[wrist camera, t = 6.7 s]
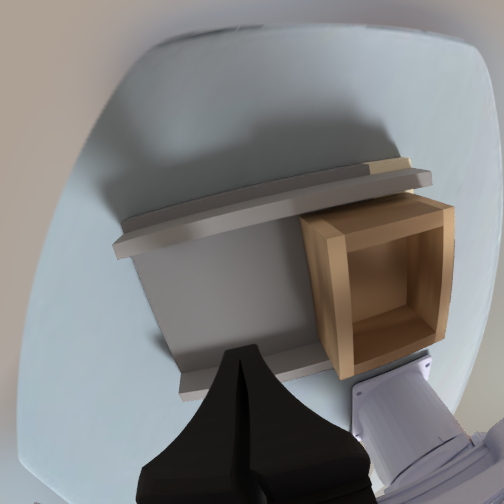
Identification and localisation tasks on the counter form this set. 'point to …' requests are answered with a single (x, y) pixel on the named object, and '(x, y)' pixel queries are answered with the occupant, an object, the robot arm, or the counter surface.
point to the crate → (380, 278)
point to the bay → (246, 268)
